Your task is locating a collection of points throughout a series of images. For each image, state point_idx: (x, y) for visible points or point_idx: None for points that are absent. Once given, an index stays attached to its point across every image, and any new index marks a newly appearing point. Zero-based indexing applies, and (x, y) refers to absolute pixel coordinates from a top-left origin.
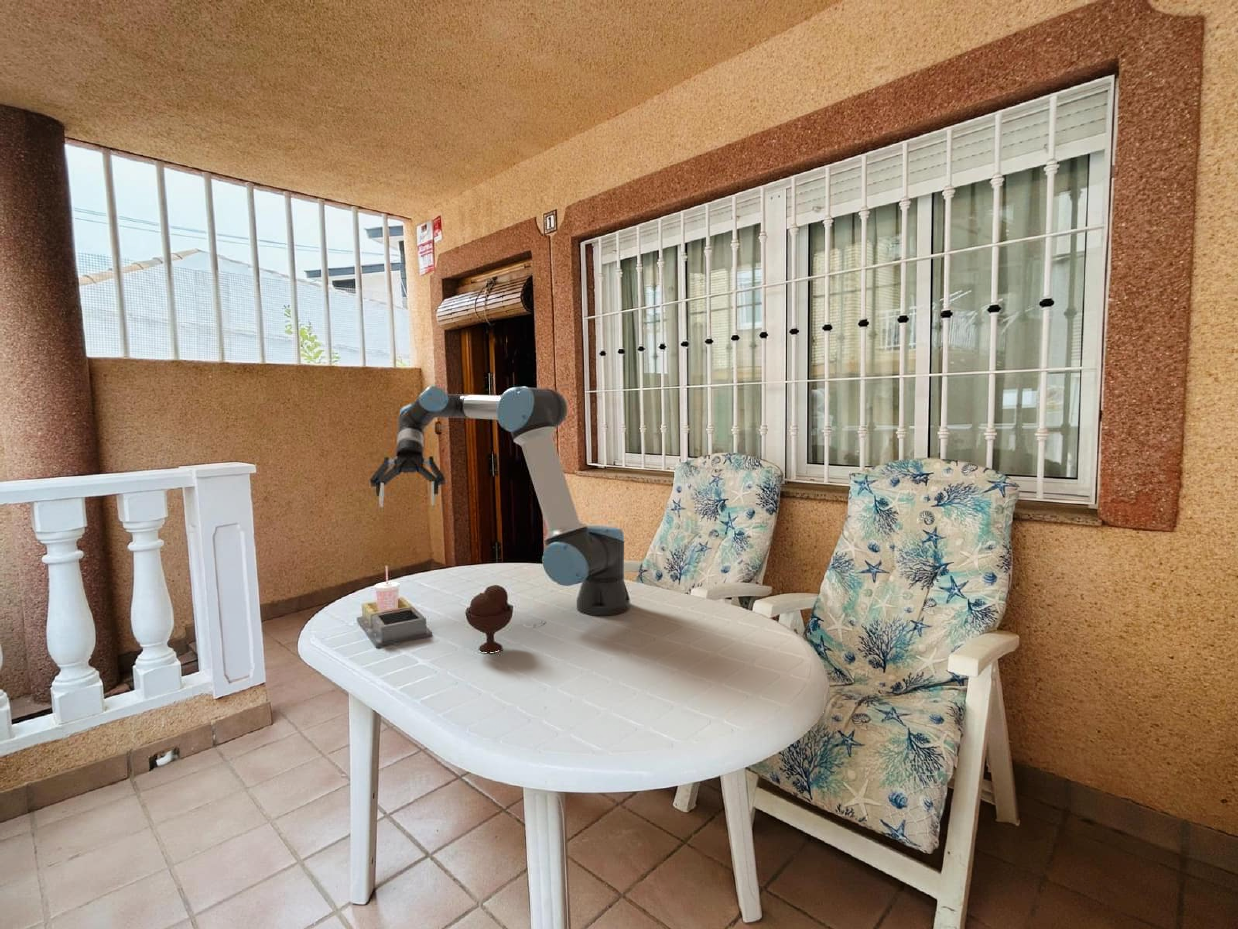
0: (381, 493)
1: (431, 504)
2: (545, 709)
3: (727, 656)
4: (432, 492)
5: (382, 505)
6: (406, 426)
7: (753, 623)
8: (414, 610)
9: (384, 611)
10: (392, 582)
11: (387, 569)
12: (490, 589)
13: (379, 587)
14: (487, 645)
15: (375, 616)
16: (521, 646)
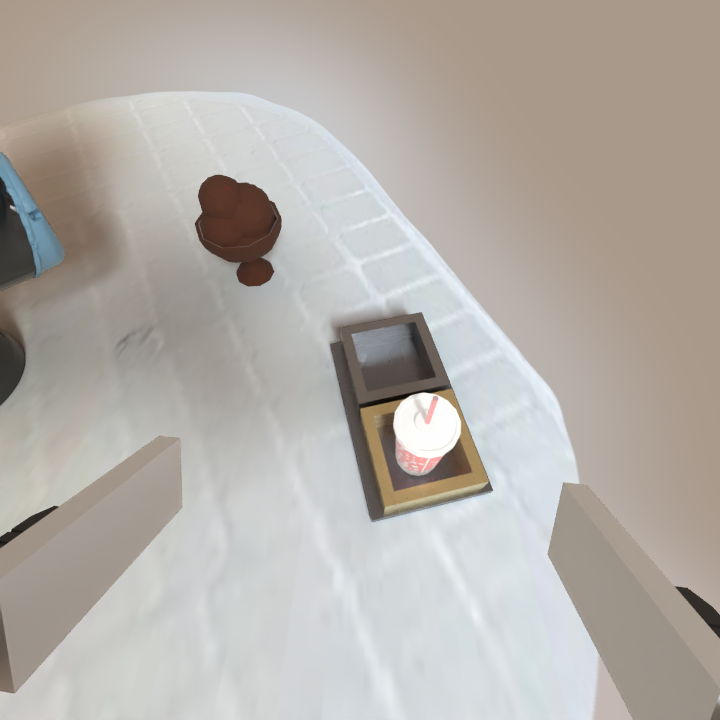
0: (616, 539)
1: (180, 497)
2: (254, 150)
3: None
4: (121, 470)
5: (553, 535)
6: None
7: None
8: (358, 382)
9: None
10: (414, 446)
11: (431, 402)
12: (228, 178)
13: (445, 408)
14: (259, 260)
15: (439, 372)
16: (209, 268)
